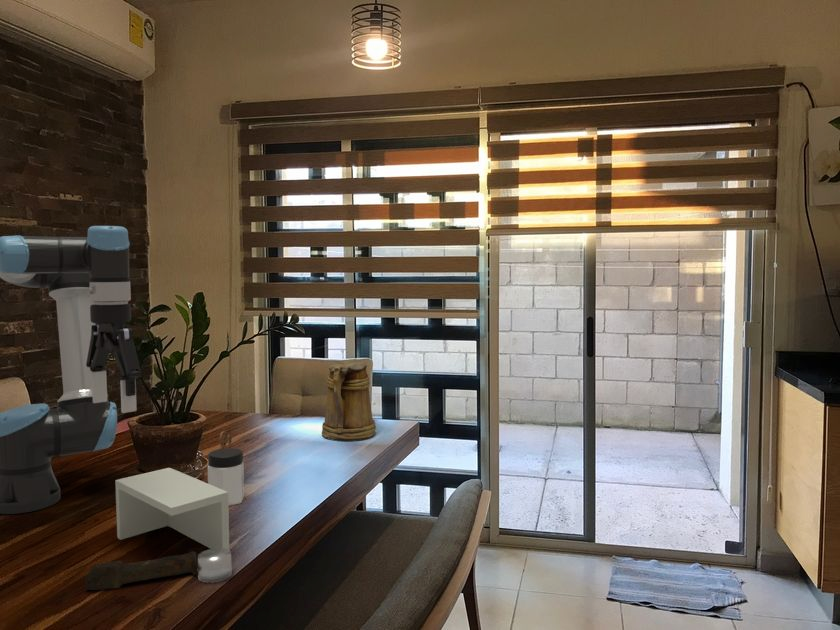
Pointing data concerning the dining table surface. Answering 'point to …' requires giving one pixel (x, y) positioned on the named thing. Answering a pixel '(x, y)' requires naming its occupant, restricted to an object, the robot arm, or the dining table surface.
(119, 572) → the hand tool
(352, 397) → the tankard
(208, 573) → the steel puck
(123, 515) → the low shelf
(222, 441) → the gingerbread man figurine
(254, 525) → the dining table surface
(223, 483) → the jar
